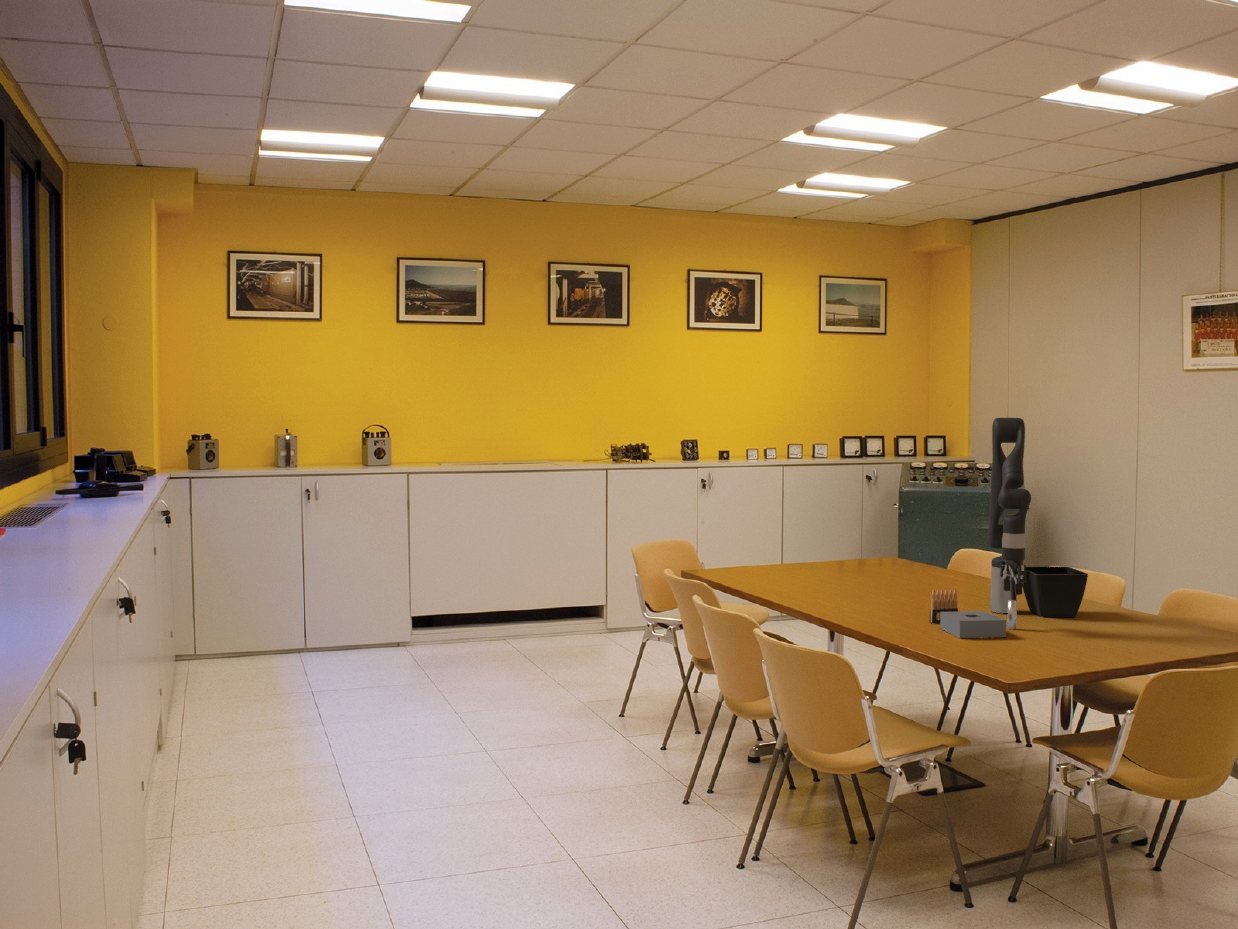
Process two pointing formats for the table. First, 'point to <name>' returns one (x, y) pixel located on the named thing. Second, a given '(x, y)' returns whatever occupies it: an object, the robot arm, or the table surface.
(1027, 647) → the table surface
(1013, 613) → the metal pin
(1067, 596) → the flower pot
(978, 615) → the socket block
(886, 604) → the table surface
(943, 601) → the ammunition clip
